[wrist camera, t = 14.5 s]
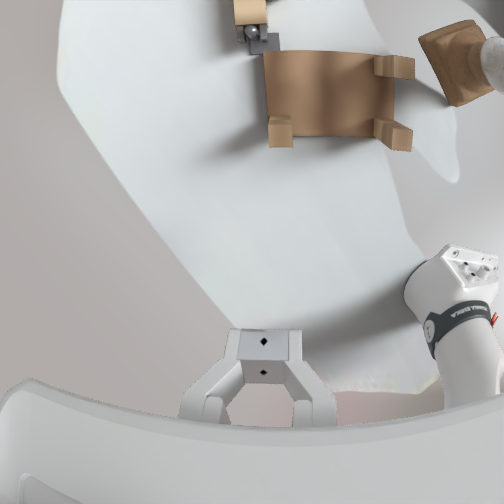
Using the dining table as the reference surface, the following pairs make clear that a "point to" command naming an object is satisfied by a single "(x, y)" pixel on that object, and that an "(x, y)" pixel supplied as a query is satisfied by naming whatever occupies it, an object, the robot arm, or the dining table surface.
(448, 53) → the candle holder
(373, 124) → the stool seat
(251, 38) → the hinge bracket
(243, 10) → the hinged leg
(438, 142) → the dining table surface
